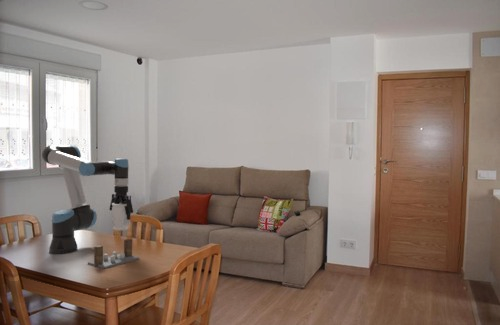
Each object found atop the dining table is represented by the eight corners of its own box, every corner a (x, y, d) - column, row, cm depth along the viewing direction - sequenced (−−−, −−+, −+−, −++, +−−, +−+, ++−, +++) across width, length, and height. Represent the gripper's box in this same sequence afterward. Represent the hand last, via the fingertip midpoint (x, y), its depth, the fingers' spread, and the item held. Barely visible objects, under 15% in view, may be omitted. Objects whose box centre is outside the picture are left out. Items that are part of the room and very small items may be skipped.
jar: (124, 231, 233) (124, 204, 232) (107, 230, 235) (108, 203, 234) (133, 227, 243) (133, 202, 242) (117, 226, 245) (117, 201, 245)
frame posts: (94, 265, 213) (94, 246, 213) (128, 256, 232) (128, 238, 231) (97, 266, 212) (97, 247, 211) (132, 257, 230) (132, 239, 229)
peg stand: (87, 264, 216) (87, 256, 216) (122, 255, 235) (121, 248, 234) (104, 268, 209) (104, 260, 208) (138, 258, 227) (138, 251, 227)
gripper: (103, 184, 241) (102, 222, 242) (129, 187, 228) (129, 227, 229) (113, 183, 247) (113, 220, 248) (140, 186, 235) (139, 225, 236)
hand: (121, 224), depth 239 cm, fingers closed on jar, 10 cm apart
